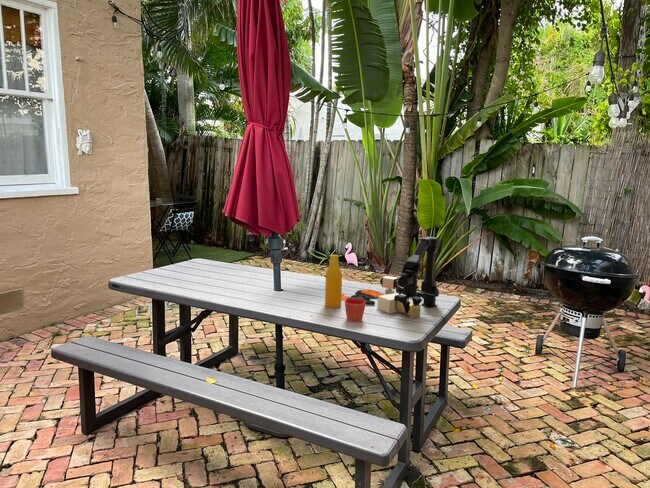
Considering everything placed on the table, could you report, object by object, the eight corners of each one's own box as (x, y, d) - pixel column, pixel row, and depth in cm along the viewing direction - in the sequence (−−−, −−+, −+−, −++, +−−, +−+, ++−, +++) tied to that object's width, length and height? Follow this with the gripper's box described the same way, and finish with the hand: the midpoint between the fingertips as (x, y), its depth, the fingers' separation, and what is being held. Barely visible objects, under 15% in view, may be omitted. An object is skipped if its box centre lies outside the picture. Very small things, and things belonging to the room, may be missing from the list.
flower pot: (363, 316, 244) (364, 298, 243) (366, 323, 233) (366, 304, 232) (343, 316, 244) (344, 298, 242) (345, 322, 233) (345, 304, 231)
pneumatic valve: (395, 297, 284) (396, 277, 282) (379, 293, 291) (380, 275, 289) (400, 295, 288) (401, 276, 286) (384, 292, 295) (384, 273, 294)
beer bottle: (322, 304, 265) (323, 254, 261) (337, 303, 268) (338, 253, 264) (328, 308, 256) (329, 257, 252) (343, 307, 260) (345, 256, 255)
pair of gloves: (361, 291, 298) (362, 286, 297) (394, 298, 282) (395, 293, 282) (335, 300, 277) (335, 294, 276) (369, 308, 261) (369, 302, 261)
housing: (396, 305, 267) (397, 292, 266) (408, 309, 258) (409, 296, 257) (377, 308, 259) (377, 295, 258) (389, 313, 251) (389, 300, 250)
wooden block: (398, 308, 260) (398, 297, 259) (420, 316, 245) (420, 305, 245) (389, 309, 256) (389, 298, 255) (411, 318, 242) (411, 306, 241)
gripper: (414, 279, 256) (412, 306, 259) (387, 282, 246) (386, 311, 249) (428, 283, 247) (427, 311, 249) (402, 287, 237) (400, 316, 239)
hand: (410, 312), depth 247 cm, fingers closed on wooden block, 5 cm apart
